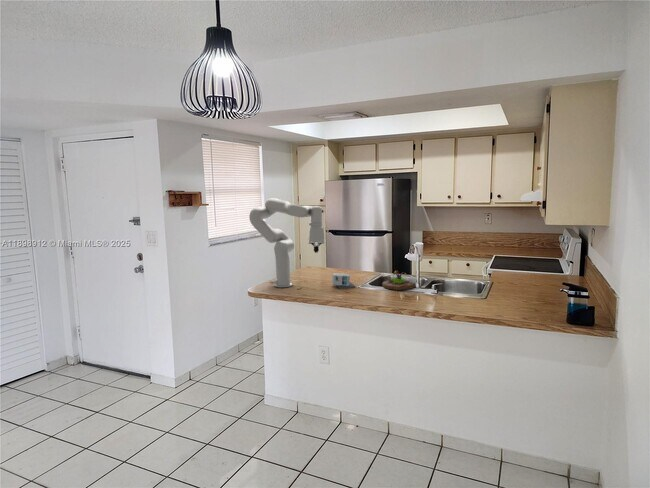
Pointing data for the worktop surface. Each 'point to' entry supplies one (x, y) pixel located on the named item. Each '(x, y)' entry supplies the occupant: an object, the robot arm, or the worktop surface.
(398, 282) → the plant
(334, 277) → the light bulb box
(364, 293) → the worktop surface
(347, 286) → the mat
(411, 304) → the worktop surface
